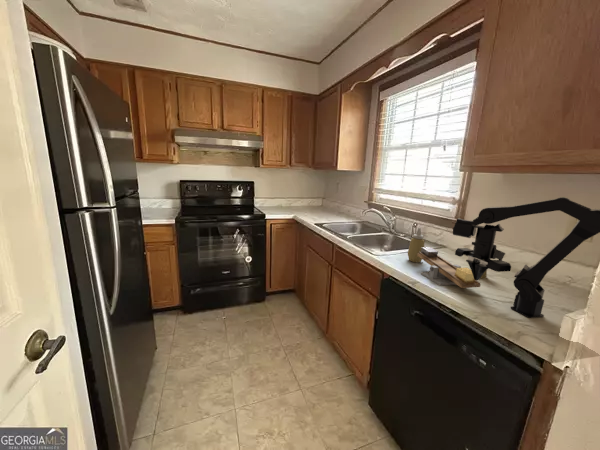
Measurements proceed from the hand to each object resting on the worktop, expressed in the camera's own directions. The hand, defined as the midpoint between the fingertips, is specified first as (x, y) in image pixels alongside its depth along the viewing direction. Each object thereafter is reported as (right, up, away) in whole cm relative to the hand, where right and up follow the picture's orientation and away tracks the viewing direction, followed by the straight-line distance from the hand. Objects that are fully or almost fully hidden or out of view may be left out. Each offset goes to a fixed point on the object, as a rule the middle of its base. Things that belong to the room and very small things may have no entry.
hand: (476, 280), depth 97 cm
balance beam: (-3, +2, +15) cm, 16 cm away
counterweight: (-6, +7, +25) cm, 27 cm away
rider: (-1, -1, +6) cm, 6 cm away
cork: (+16, -3, +21) cm, 27 cm away
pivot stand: (-3, -3, +16) cm, 17 cm away
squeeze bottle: (-6, +2, +39) cm, 39 cm away
